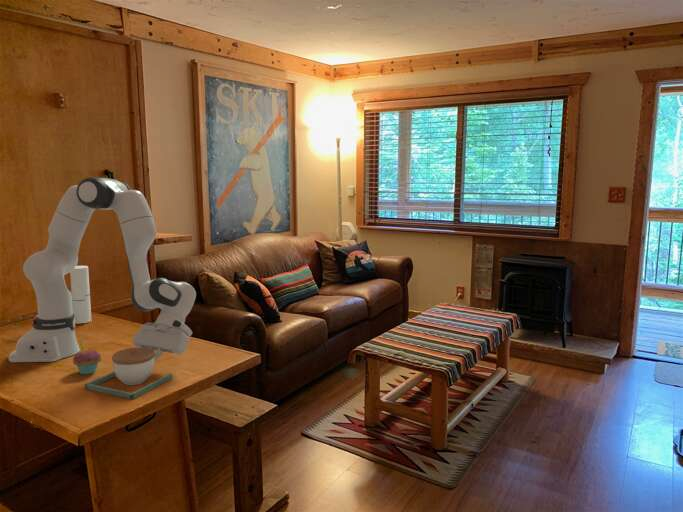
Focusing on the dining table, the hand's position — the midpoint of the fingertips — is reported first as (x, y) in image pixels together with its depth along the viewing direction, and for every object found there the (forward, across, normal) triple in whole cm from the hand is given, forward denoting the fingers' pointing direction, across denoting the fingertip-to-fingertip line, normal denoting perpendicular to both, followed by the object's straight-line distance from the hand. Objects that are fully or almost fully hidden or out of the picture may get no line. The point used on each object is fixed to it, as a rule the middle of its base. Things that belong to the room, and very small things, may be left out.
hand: (149, 361), depth 172 cm
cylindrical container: (-20, -68, +27) cm, 76 cm away
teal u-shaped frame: (+9, 0, -3) cm, 9 cm away
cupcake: (+8, -20, -2) cm, 22 cm away
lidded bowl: (+8, 0, -2) cm, 8 cm away
